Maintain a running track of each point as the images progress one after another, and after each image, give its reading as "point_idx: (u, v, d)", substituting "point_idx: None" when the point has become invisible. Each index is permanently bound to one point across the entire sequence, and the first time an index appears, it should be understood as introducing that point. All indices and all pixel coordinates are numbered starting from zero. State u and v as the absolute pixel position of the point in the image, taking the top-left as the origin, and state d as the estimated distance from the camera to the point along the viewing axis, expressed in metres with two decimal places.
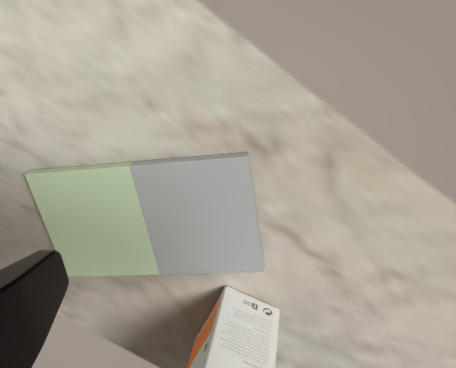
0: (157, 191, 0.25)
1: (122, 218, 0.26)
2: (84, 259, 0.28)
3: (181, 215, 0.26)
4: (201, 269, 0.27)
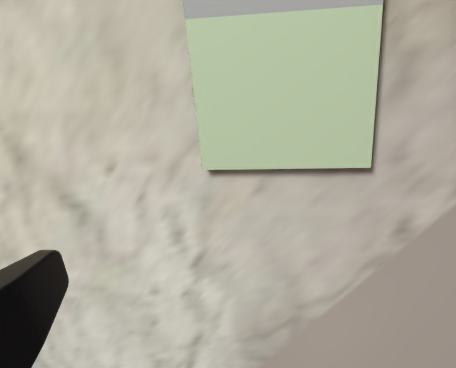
0: None
1: (269, 48, 0.18)
2: (339, 129, 0.19)
3: None
4: None
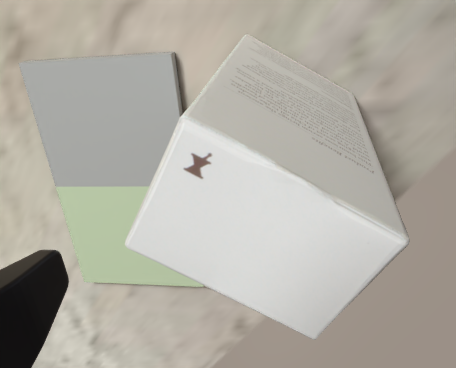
0: (78, 164, 0.23)
1: (117, 208, 0.24)
2: None
3: (103, 145, 0.23)
4: None
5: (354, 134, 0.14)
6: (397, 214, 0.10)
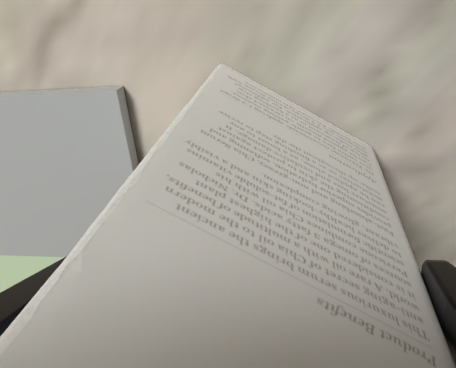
0: (5, 229, 0.18)
1: None
2: None
3: (35, 206, 0.17)
4: None
5: (386, 248, 0.08)
6: None
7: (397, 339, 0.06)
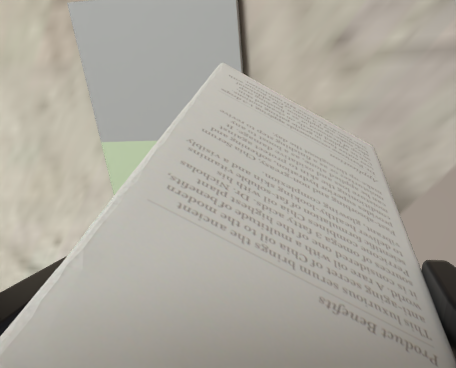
0: (126, 116, 0.22)
1: None
2: None
3: (155, 94, 0.21)
4: None
5: (388, 248, 0.08)
6: None
7: (399, 338, 0.06)
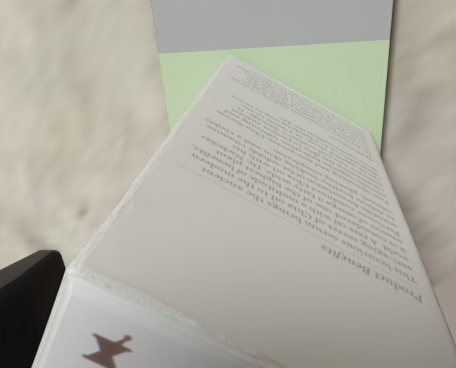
0: (201, 9, 0.14)
1: None
2: None
3: None
4: None
5: (381, 213, 0.10)
6: None
7: (389, 280, 0.07)
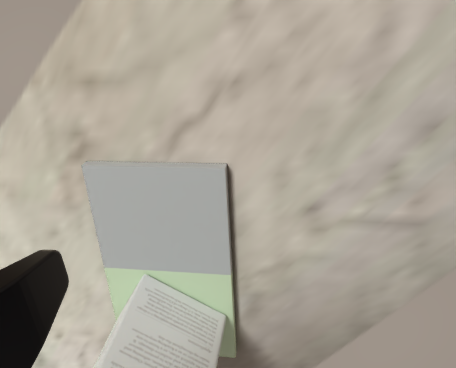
0: (128, 251, 0.25)
1: None
2: None
3: (153, 237, 0.25)
4: (222, 233, 0.24)
5: None
6: None
7: None
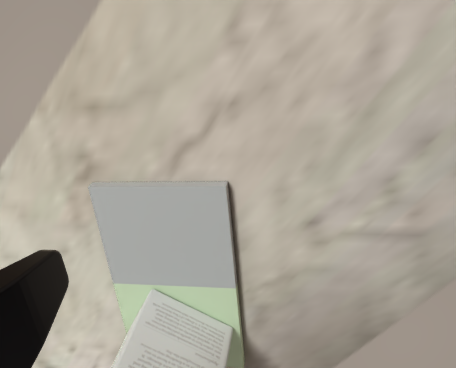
0: (135, 267, 0.26)
1: None
2: None
3: (159, 253, 0.25)
4: (226, 248, 0.24)
5: None
6: None
7: None
